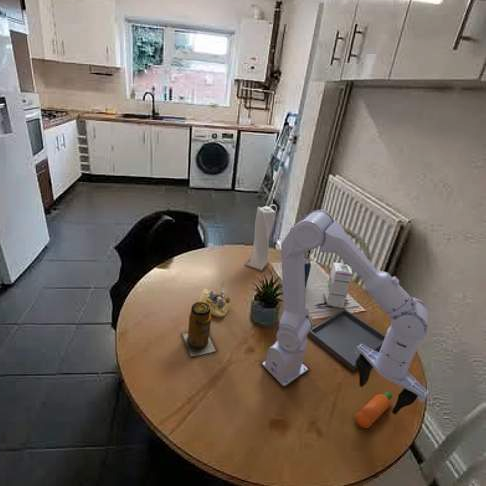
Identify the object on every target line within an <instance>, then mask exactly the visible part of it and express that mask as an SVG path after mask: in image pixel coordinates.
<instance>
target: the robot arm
mask: <svg viewBox="0 0 486 486" xmlns="http://www.w3.org/2000/svg"><path fill="white" fill-rule="evenodd" d="M319 247H321V248H320V249H319V253H327V254H336V255H337V256H338V257H339V258H340V259H341V260H342V261H343V263H344V264H347V265H348V266H349V267H350V268H351V270H352V271H353V272H354V273H355V274H357V276H358V277H359V278H360V279H362V280H363V283H364V284H363V289H364V291H365V292H366V293H367V294H368V295H369V296H370V297H371V298H372V300H373V301H374V302H375V303H376V304H377V305H378V306H379V308H380V309H382V310H383V312H384V313H385V314H386V315H387V316H388V317H389V318H390V319H391V320H390V323H391V324H390V326H389V327H388V328H387V331H386V334H385V338H384V341H383V344H382V346H381V348H380V349H379V351H377V352H376V351H374V350H372V349H370V348H368V347H366V346H364V345H363V344H360V345H359V346H358V347H357V349H356V352H355V353H356V354H357V355H359V358H358V359H357V360H356V365H357V368H356V369H357V371H358V377H359V379H358V381H359V384H358V385H359V387H360V388H363V387H364V386H365V385H367V383H368V381H369V378H370V375H371V372H372V370H373V368H374V370H375V371H376V373H378V374H379V375H380V376H381V377H382V378H383V379H386V381H389V382H391V383H393V384H395V385H397V386H399V387H400V388H403V390H402V391H401V392H400V393H399V394H398V396H397V400H396V403H395V405H394V407H393V409H392V411H391V413H392V414H393V415H395V416H396V415H397V414H398V413H399V411H400V410H401V409H403V408H405V407H407V406H410V405H412V404H414V402H415V401H418V402H420V403H421V404H423V402H424V401H425V400H426V399H427V397H428V396H429V393H430V391H429V390H428V389H426V388H425V387H424V386H423V385H422V384H421V383H419V381H418V380H416V378H415V377H414V376H413V375H412V374H411V373H410V372H409V368H410V366H411V363H412V361H413V359H414V357H415V354H416V352H417V350H418V348H419V345H420V340H423V339H424V338H426V337H427V336H428V327H429V326H428V325H429V310H428V308H427V306H426V305H425V303H424V302H423V301H422V300H421V299H418V298H416V297H413V296H412V297H411V296H410V295H409V293H407V291H406V290H405V289H404V288H403V287H402V285H400V280H399V279H398V278H397V276H395V275H394V276H392V275H390V273H389V272H387V271H384V270H383V271H382V270H378V269H377V267H375V266H374V265H373V263H372V262H371V261H370V260H369V259H368V258H367V256H366V255H365V254H364V253H363V251H362V250H360V248H359V247H358V246H357V244H356V243H355V242H354V241H353V239H352V238H351V237H350V236H349V234H347V233H346V230H345V229H344V228H343V226H342V225H341V223H340V222H338V221H337V220H335V219H334V217H333V216H332V214H330V213H329V212H328V211H326V210H323V209H317V210H313V211H311V212H310V213H308V214H307V215H305V216H304V217H302V218H301V220H299V221H298V222H297V223H296V224H295V225H293V226H292V227H291V228H289V231H288V233H287V234H286V236H285V237H284V239H282V242H281V244H280V255H281V257H280V259H281V280H282V300H283V301H282V302H283V304H282V305H283V310H282V314H281V317H280V319H279V323H278V325H279V328H278V330H277V332H276V335H275V336H276V337H275V338H276V341H275V343H274V344H272V345H271V346H269V348H268V349H267V351H266V358H265V360H264V361H263V362H262V366H263V367H264V368H265V370H267V371H268V373H270V374H271V375H272V376H273V377H274V378H275V379H276V381H277V382H278V383H279V384H280V385H281V386H283V387H286V386H287V385H289V384H290V383H291V382H293V381H294V380H296V379H297V378H299V377H300V376H302V375H303V374H305V373H306V372H307V371H308V370H309V369H308V367H307V366H306V365H305V364H304V363H303V362H304V357H305V354H306V350H307V346H308V339H307V336H308V333H309V332H310V330H311V329H312V328H313V327H314V326H313V325H314V322H313V320H312V318H311V317H310V310H309V308H307V307H306V288H305V268H304V256H305V252H306V251H312V250H315V249H318V248H319Z"/></svg>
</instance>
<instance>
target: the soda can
mask: <svg viewBox="0 0 486 486" xmlns="http://www.w3.org/2000/svg"><path fill="white" fill-rule="evenodd" d="M304 268H305V289H306V288H307V286H308V280H309V276H310V272H311V268H312V264H311V259H310V258H308V257H307V256H305V255H304Z"/></svg>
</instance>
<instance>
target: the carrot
mask: <svg viewBox="0 0 486 486" xmlns="http://www.w3.org/2000/svg"><path fill="white" fill-rule="evenodd" d="M392 398H393V394H392V393H391V392H390V391H385V392H383V394H382V393H377V394H375V395H374V397H373V398H372V399H370V400H369V401H368V402H367V403H366V404H365V405H364V406H363V407H361V409H359V411H358V412H357V413H356V415H355V421H356V423H357V424H358V426H359V427H361V428H363V429H369V428H370V427H371V426H372V425H373V424H374V423H375V422H376V421H377V420H378V419H379V418H380V417H381V416H382V415H383V414H384V412H386V410H387V409H389V407H390V400H391V399H392Z"/></svg>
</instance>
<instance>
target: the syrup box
mask: <svg viewBox="0 0 486 486" xmlns="http://www.w3.org/2000/svg"><path fill="white" fill-rule="evenodd" d="M352 278H353V270H352V268H351V267H349V266H348V265H347V264H346V263H344V262H343V263H341V262H333V263H332V267H331V269H330V274H329V279H328V282H327V286H326V290H325V294H324V298H325V301H326V305H327V306H330V307H333V308H339V309H344V306H345V303H346V299H347V296H348V293H349V289H350V285H351V281H352Z"/></svg>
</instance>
